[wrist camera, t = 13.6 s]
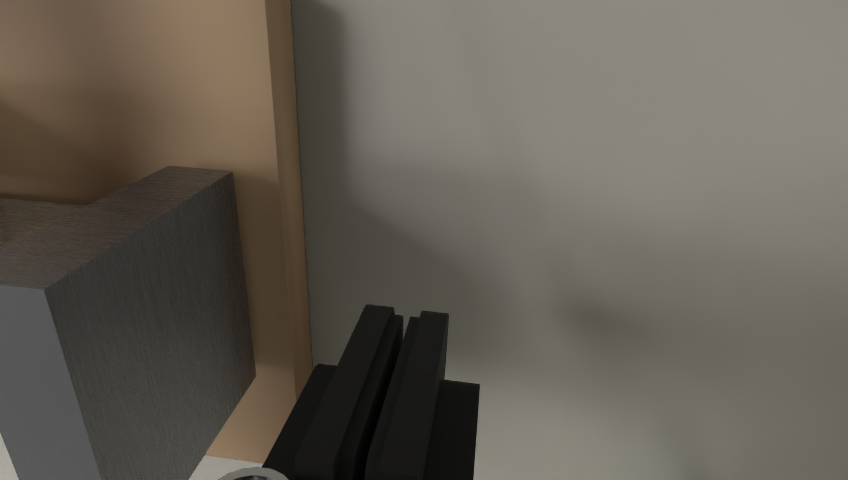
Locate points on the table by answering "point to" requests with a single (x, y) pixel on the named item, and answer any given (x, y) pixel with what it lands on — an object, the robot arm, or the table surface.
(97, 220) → the grey rectangular box
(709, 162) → the table surface
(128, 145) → the jig
